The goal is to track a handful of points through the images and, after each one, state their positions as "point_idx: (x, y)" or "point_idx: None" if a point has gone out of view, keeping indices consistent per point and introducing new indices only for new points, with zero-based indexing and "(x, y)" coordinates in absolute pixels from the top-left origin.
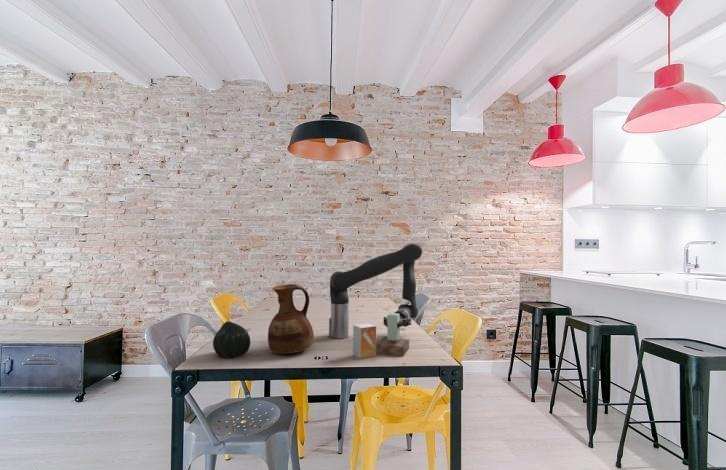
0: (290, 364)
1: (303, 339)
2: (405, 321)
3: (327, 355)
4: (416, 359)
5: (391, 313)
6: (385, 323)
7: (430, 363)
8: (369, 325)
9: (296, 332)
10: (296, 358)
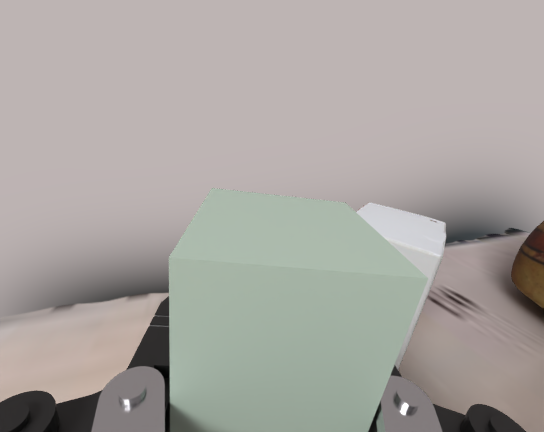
0: (444, 259)
1: (525, 254)
2: (24, 395)
3: (463, 321)
4: (76, 372)
5: (356, 248)
6: None
7: (16, 335)
8: (376, 223)
9: (540, 227)
10: (487, 285)
